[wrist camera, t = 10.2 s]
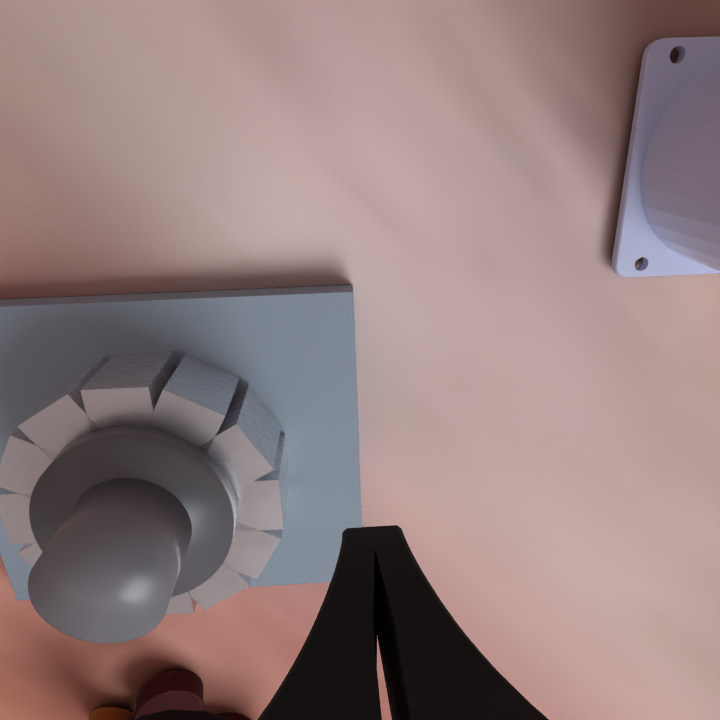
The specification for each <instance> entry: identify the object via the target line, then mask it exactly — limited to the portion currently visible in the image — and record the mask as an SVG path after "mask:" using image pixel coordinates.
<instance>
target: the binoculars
mask: <svg viewBox="0 0 720 720" xmlns="http://www.w3.org/2000/svg"><path fill="white" fill-rule="evenodd" d="M203 707H204V702H203V683H202V681H201V679H200V678H199V677H198V676H197V675H196V674H194V673H191V672H188V671H179V670H177V671H169V672H165V673H162V674H160V675H157V676H155V677H154V678H152V679H150V680H149V681H148V682H147V683H146V684H145V685H144V686H143V687H142V689H141V690H140V692H139V694H138V697H137V700H136V710H135V711H134V712H131V711H129V710H125V709H122V708H115V707H102V708H98V709H96V710H94V711H93V712H92V713H91V714H90V717H89V720H250V719H249V718H248V717H246V716H244V715H242V714H238V713H224V714H220V715H216V714H212V713H209V712H206V711H203Z"/></svg>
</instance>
